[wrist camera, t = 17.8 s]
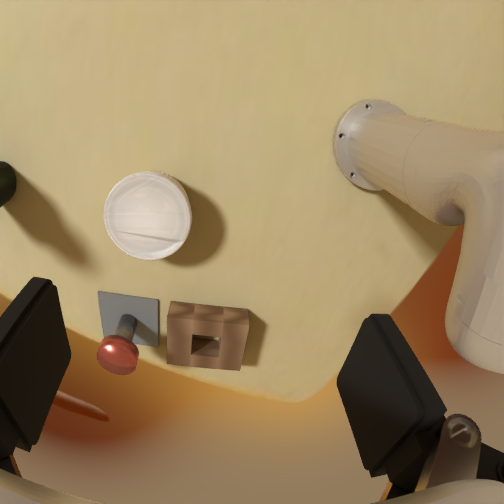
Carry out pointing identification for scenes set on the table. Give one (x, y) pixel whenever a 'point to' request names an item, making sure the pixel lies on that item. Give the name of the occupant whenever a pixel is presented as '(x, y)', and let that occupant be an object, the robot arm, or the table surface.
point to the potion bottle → (6, 183)
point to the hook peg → (120, 348)
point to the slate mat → (135, 306)
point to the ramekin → (148, 215)
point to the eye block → (207, 324)
